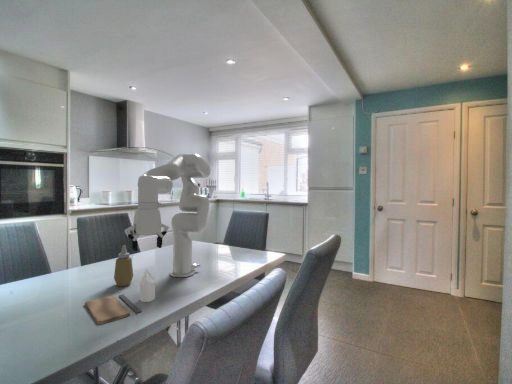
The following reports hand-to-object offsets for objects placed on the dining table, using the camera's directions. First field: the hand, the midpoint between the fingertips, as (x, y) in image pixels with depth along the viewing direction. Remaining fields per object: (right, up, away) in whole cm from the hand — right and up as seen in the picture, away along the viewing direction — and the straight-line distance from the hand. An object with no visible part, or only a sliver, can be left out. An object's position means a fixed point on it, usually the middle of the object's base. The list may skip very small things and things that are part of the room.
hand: (147, 248), depth 112 cm
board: (-11, -21, -9) cm, 25 cm away
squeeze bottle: (-17, -20, +16) cm, 31 cm away
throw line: (-5, -21, -4) cm, 22 cm away
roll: (0, -21, +1) cm, 21 cm away
